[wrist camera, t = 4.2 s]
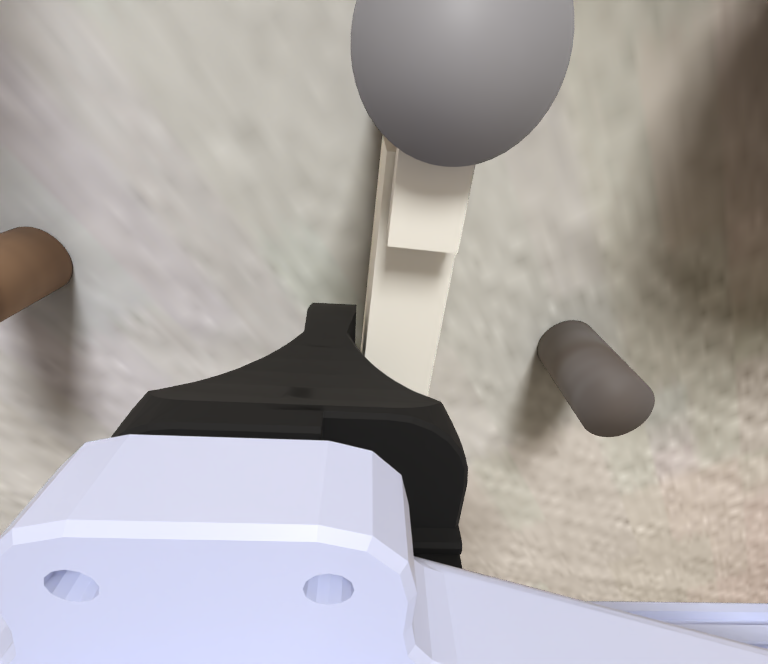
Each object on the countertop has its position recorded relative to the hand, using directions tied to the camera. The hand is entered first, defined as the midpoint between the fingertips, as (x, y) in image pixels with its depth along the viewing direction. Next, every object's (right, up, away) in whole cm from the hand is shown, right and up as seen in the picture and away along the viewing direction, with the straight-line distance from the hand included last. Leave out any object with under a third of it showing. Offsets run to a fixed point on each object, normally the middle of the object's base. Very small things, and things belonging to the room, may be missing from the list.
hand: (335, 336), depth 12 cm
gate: (+2, +2, +1) cm, 3 cm away
